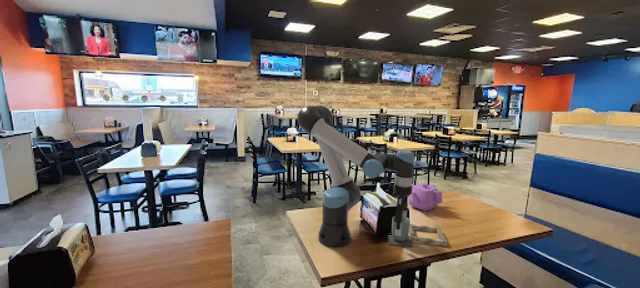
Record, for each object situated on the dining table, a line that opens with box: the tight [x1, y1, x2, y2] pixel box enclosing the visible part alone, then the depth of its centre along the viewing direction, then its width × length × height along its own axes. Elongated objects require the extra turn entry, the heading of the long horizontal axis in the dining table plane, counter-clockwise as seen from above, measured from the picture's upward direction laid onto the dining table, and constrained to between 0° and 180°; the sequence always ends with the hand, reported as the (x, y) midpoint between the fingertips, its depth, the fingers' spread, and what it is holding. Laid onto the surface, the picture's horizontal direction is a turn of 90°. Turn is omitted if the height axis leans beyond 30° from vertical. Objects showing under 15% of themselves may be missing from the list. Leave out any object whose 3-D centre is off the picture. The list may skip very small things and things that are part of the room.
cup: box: [391, 215, 411, 241], centre depth 129 cm, size 8×8×10 cm
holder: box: [409, 223, 448, 247], centre depth 134 cm, size 15×15×2 cm
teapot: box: [408, 182, 443, 213], centre depth 170 cm, size 19×18×15 cm
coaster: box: [387, 234, 413, 248], centre depth 129 cm, size 10×10×1 cm
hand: (400, 229), depth 128 cm, fingers open, 13 cm apart
